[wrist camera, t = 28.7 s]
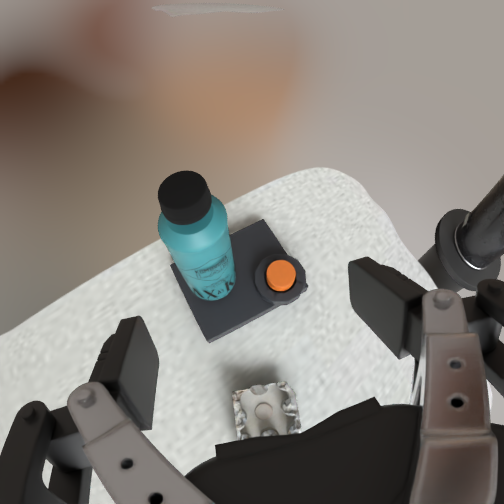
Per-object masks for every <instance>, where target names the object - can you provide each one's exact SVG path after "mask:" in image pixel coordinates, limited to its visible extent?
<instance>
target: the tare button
mask: <svg viewBox="0 0 504 504" xmlns="http://www.w3.org/2000/svg"><path fill="white" fill-rule="evenodd" d="M295 276H296V272H295V269H294V267H293V265H292V264H291V263H289V262H287V261H285V260H277V261H274V262H272V263H271V264H270V265H269V267H268V269H267V274H266V280H267V283H268V285H269V286H270V287H271V288H272V289H273V290H276V291H285V290H288V289H289V288H290V287H291V286H292V285H293V283H294V279H295Z"/></svg>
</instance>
